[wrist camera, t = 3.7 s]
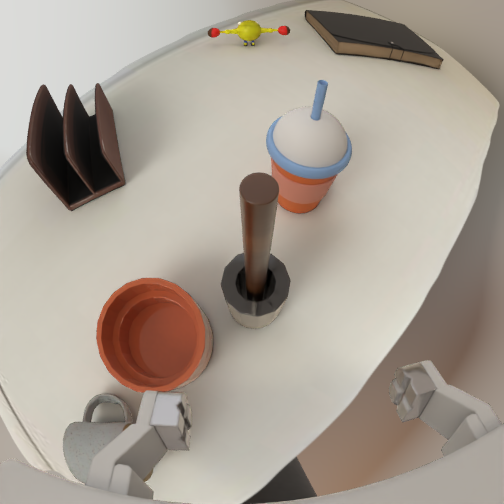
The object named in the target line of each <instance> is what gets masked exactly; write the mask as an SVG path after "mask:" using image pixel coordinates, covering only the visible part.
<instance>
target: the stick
mask: <svg viewBox="0 0 504 504" xmlns="http://www.w3.org/2000/svg"><path fill="white" fill-rule="evenodd" d="M239 191H240V206H241V220H242V234H243V248H244V262H245V276H246V289H247V300H249V301H254V302H259V301H262V300H263V295H264V289H265V283H266V276H267V270H268V263H269V257H270V250H271V244H272V237H273V230H274V224H275V217H276V210H277V203H278V196H279V185H278V183H277V181H276V180H275V179H274V178H273V177H272V176H270V175H268V174H266V173H253V174H250V175H248V176H246V177H245V178H244V179H243V180H242V182H241V184H240V187H239Z"/></svg>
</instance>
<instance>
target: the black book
mask: <svg viewBox="0 0 504 504" xmlns="http://www.w3.org/2000/svg"><path fill="white" fill-rule="evenodd" d="M305 18H306V20H307V21H308V22H309V24H310V25H311V26H312V27H313V28H314V29H315V30H316V31H317V32H318V33H319V35H320V36H321V37H322V38H323V39H324V40H325V41H326V43H327V44H328V45H329V46H330V47H331V49H332V50H333V51H334V52H335V53H336V54H346V55H358V56H367V57H376V58H383V59H388V60H397V61H399V62H400V61H402V62H408V63H413V64H418V65H423V66H428V67H432V68H436V69H439V68H440V66H441V64H442V61H443V59H442V58H441V57H440V56H439V55H438V54H437V53H436V52H435V51H434V50H433V49H432V48H431V47H430V46H429V45H428V44H427V43H426V42H424V41H423V40H422V39H421V38H420V37H419V36H417V35H416V34H415V33H414V32H413V31H411V30H410V29H409V28H407V27H406V26H405V25H403V24H400V23H396V22H391V21H386V20H382V19H376V18H371V17H365V16H359V15H352V14H344V13H336V12H325V11H312V10H306V11H305Z"/></svg>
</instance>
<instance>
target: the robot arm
mask: <svg viewBox="0 0 504 504" xmlns="http://www.w3.org/2000/svg"><path fill="white" fill-rule="evenodd" d="M394 375H395V377H396V378H395V379H394V380H393V381H392V382H391V384H390V388H389V391H390V392H389V394H390V398H391V400H392V402H393V403H394V404H396V405H398V407H397V413H398V415H399V417H400V419H401V421H402V422H405V421H409V420H412V419H415V418H418V417H419V418H420V419H421V420H422V421H424V422H425V423H426V424H427V425H429V426H430V427H431V428H433V429H434V430H436V431H437V432H438V433H440V434H441V435H442V436H444V437H445V438H447V439H448V441H447V442H446V444H445V445H444V446H443V447H442V449H441V451H442V453H443V455H444V457H442V458H440V459H438V460H435V461H434V462H431V463H428V464H426V465H424V466H421V467H419V468H416V469H414V470H411V471H409V472H406V473H403V474H401V475H398V476H395V477H392V478H389V479H386V480H383V481H380V482H376V483H373V484H369V485H366V486H362V487H359V488H355V489H351V490H347V491H342V492H338V493H333V494H328V495H323V496H318V497H312V498H306V499H299V500H292V501H283V502H274V503H261V504H504V423H503V424H502V423H501V421H500V420H499V418H498V417H497V415H496V413H495V412H494V410H493V409H492V407H491V406H490V404H488V403H486V402H484V401H482V400H480V399H478V398H476V397H474V396H472V395H470V394H468V393H466V392H464V391H462V390H460V389H458V388H456V387H454V386H452V385H447V384H446V382H445V381H444V379H443V378H442V376H441V375H440V373H439V372H438V370H437V369H436V368H435V366H434V365H433V363H432V362H431V361H430V360H426V361H423V362H419V363H415V364H411V365H408V366H404V367H400V368H398V369H397V370H396V372H395V374H394ZM191 426H192V413H191V408H190V405H189V404H188V403H187V396H186V393H185V392H166V391H150V390H146V391H145V392H144V394H143V398H142V401H141V405H140V409H139V413H138V416H137V420H136V424H131V425H130V426H129V427H128V428H126V429H125V430H124V431H123V432H122V433H121V434H120V435H118V436H117V437H116V438H115V439H114V440H113V441H111V442H110V443H109V444H108V445H107V446H106V447H104V448H103V449H102V450H101V451H100V452H98V453H97V454H96V455H95V456H94V457H93V458H92V461H91V465H90V468H89V472H88V475H87V479H86V482H85V485H83V484H80V483H76V482H73V481H70V480H67V479H64V478H61V477H58V476H55V475H52V474H50V473H47V472H45V471H42V470H40V469H37V468H35V467H33V466H30V465H28V464H26V463H24V462H21V461H19V460H16V459H13V458H10V459H8V460H5V461H3V462H1V463H0V504H189V503H177V502H167V501H159V500H153V491H152V489H151V488H150V487H149V486H148V485H147V484H146V483H145V482H144V481H143V480H144V478H145V477H146V476H147V475H148V474H149V473H150V471H151V470H152V469H153V468H154V467H155V466H156V464H157V463H158V462H159V461H160V460H161V458H162V457H163V456H164V455H165V453H166V452H167V450H189V447H190V437H191V436H190V434H189V431H188V430H189V429H190V428H191Z"/></svg>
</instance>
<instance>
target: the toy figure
mask: <svg viewBox="0 0 504 504" xmlns="http://www.w3.org/2000/svg"><path fill="white" fill-rule="evenodd" d="M273 31H278V32H279V33H280V34H282V35H288V34H289V33H290V29H289V27H287V26H281V27H279V28H278V30H277V29H272V28H269V29H267V28H261V27H260V25H259V22H258V21H252V20H247V21H243V22H238V28H236V29H233V30H226V31H219V29H217V28H211V29H210V30H209V31H208V35H209V36H210V37H212V38H213V37H217V36H219V34H220V33H226V34H229V33H231V34H238V36H239V37H240V38H241V39H243V40H244V46H247V41H252V42H251V46H254V45H255V44H254V40H255V39H257V38H258V37H259V36H260V34H261V33H265V32H270V33H272V32H273Z"/></svg>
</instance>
